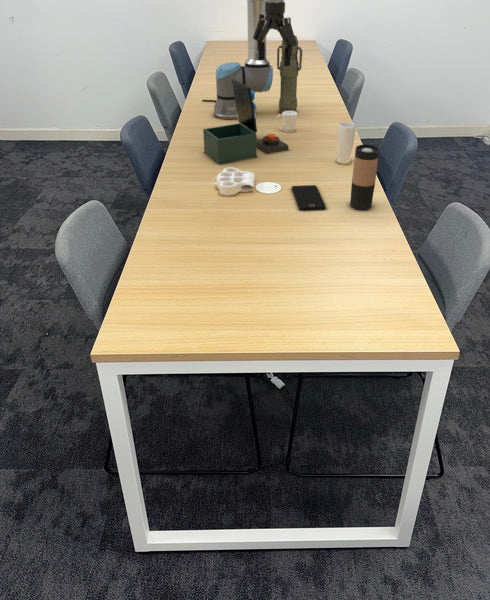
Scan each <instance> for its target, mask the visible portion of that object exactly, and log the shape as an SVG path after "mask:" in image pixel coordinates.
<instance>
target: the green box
mask: <svg viewBox="0 0 490 600" xmlns="http://www.w3.org/2000/svg"><path fill="white" fill-rule="evenodd" d="M202 133H203V134H202V135H203V149H204V154H206V156H208V157H209V158H210V159H211V160H213V161H214V162H215V163H217V164H218V165H224V164H230V163H234V162H239V161H244V160H249V159H250V160H251V159H255V158H257V147H256V140H257V132H256V133H255V132H253V131H251V130H250V129H248V128H247V127H245V126H244V125H242V124H240V123H239V124H238V123H233V124H232V123H231V124H227V125H219V126H214V127H208V128H203V129H202Z"/></svg>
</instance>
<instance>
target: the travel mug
mask: <svg viewBox="0 0 490 600" xmlns="http://www.w3.org/2000/svg"><path fill="white" fill-rule="evenodd" d="M379 155H380V148H379V147H378V146H376V145H373V144H359V145H356V147H355V151H354V160H353V167H352V168H353V169H352V176H351V177H352V178H351V189H350V202H349V203H350V204H349V206H350V207H351V209H353V210H357V211H368V210H370V209H371V208H372V204H373V198H374V192H375V187H376V180H377V179H376V178H377V171H378V163H379Z"/></svg>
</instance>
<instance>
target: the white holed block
mask: <svg viewBox="0 0 490 600" xmlns="http://www.w3.org/2000/svg"><path fill="white" fill-rule="evenodd" d="M214 179H216V181H215V182H213V186H215V187H216V188H217V189H218V190H219V194H220V195H221V196H224V197H225V196H226V197H228V196H234V195H236V194H237V193H247V192H252V191H253V190H254V185H255V179H256V174H255V173H254V172H252V171H249V170H240V169H239V168H237V167H233V166H231V167H224V168H223V169H222V171H221V172H219V173H218V174H217V176H215V177H214Z"/></svg>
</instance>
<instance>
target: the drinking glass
mask: <svg viewBox="0 0 490 600" xmlns="http://www.w3.org/2000/svg"><path fill="white" fill-rule="evenodd" d="M336 130H337V131H336V162H337V163H338V164H340V165H346V164H349V163H351V157H352V151H353V147H354V141H355V135H356V123H354V122H351V121H341V122H339V123H338V124H337V129H336Z"/></svg>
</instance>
